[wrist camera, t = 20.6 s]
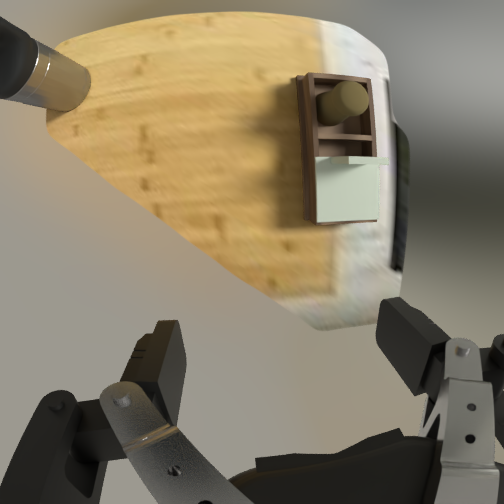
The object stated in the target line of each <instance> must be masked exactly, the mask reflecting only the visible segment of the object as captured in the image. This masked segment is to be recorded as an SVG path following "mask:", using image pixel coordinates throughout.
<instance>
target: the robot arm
mask: <svg viewBox="0 0 504 504" xmlns="http://www.w3.org/2000/svg"><path fill="white" fill-rule="evenodd" d="M90 83H91V78H90V74H89V72H88V70H87V69H86V68H85V67H83V66H81V65H80V64H78V63H76V62H75V61H73V60H71V59H70V58H68V57H66V56H64V55H62V54H61V53H59V52H57V51H55V50H53V49H52V48H50V47H48V46H46V45H44V44H42V43H40V42H38V41H36V40H35V39H33V38H31V37H30V36H29V35H28V34H27V33H26V32H25V31H23V30H21V29H20V28H18V27H16V26H15V25H13V24H11V23H10V22H8V21H7V20H5V19H3V18H2V17H0V99H5V100H10V101H16V102H22V103H23V104H28V105H33V106H38V107H42V108H47V109H53V110H58V111H62V112H66V111H70V110H72V109H74V108H76V107H77V106H78V105H80V103H81V102H82V101H83V100H84V99H85V97H86V95H87V93H88V91H89V88H90ZM376 341H377V344H378V346H379V348H380V349H381V350H382V352H383V353H384V355H385V356H386V357H387V359H388V360H389V361H390V363H391V364H392V365H393V367H394V368H395V370H396V371H397V372H398V374H399V375H400V377H401V378H402V379H403V381H404V382H405V384H406V385H407V386H408V388H409V389H410V391H411V392H412V393H413V395H414V396H417V395H420V394H423V393H427V394H428V395H427V398H426V400H425V404H424V410H423V416H422V420H421V425H420V430H419V434H418V436H403V434H402V432H401V430H400V428H397V429H394V430H391V431H388V432H385V433H381V434H378V435H375V436H372V437H368V438H367V439H364V440H362V441H360V442H359V443H357V444H355V445H353V446H351V447H349V448H347V449H345V450H342V451H340V452H338V453H335V454H296V453H293V454H286V455H278V456H270V457H260V458H255V461H256V468H253V469H250V470H247V471H244V472H242V473H239V474H237V475H236V476H233V477H232V478H230V479H228V480H227V479H226V478H225V477H224V476H223V475H222V474H221V473H220V472H219V471H218V470H217V469H216V468H215V467H214V466H213V465H212V464H211V463H210V462H209V461H208V460H207V459H206V458H205V457H204V456H203V455H202V454H201V453H200V452H199V451H198V450H197V449H196V448H195V447H194V445H193V444H192V443H191V442H190V441H189V440H188V439H187V438H186V436H185V435H184V434H183V433H182V432H181V431H180V430H179V429H178V428H177V420H178V414H179V407H180V402H181V396H182V389H183V384H184V378H185V373H186V353H185V349H184V344H183V339H182V334H181V329H180V325H179V322H178V320H163V321H158V322H157V324H156V327H155V329H154V332H153V333H152V334H145V335H144V336H143V337H142V338H141V339H139V340H138V341H137V344H136V346H135V348H134V351H133V353H132V355H131V359H129V361H128V363H127V366H126V368H125V371H124V373H123V375H122V377H121V379H120V382H117V383H114V384H112V385H110V386H108V387H107V388H105V389H104V390H103V392H102V393H101V395H100V398H99V399H96V400H89V401H82V402H77V400H76V399H75V397H74V395H73V394H72V393H70V392H68V391H65V390H57V391H54V392H51V393H49V394H47V395H46V396H44V397H43V398H42V400H41V401H40V403H39V405H38V407H37V408H36V410H35V412H34V414H33V416H32V418H31V420H30V422H29V424H28V426H27V428H26V430H25V432H24V433H23V436H22V438H21V440H20V442H19V444H18V446H17V448H16V450H15V452H14V455H13V457H12V459H11V461H10V464H9V466H8V468H7V471H6V473H5V476H4V478H3V481H2V483H1V486H0V504H99V502H100V496H101V491H102V486H103V481H104V477H105V472H106V468H107V463H108V461H110V460H118V459H124V458H128V459H129V461H130V462H131V464H132V465H133V467H134V469H135V470H136V472H137V474H138V475H139V477H140V478H141V480H142V481H143V483H144V484H145V486H146V487H147V489H148V490H149V491H150V493H151V494H152V496H153V497H154V498H155V500H156V501H157V502H158V504H504V464H501V463H497V462H495V461H494V453H495V436H496V438H497V439H498V441H499V442H500V444H501V445H502V447H503V448H504V391H503V389H504V334H502V335H501V334H500V335H497V336H496V337H495V338H494V340H493V343H492V346H491V347H490V348H480V349H479V348H478V346H477V345H476V344H475V343H474V342H472V341H471V340H468V339H465V338H453V339H451V338H450V337H449V336H448V335H447V334H446V333H445V332H444V331H443V330H442V329H441V328H439V327H438V326H437V325H436V324H434V322H433V321H432V320H431V319H428V317H427V316H426V315H425V314H424V313H422V311H420V310H418V309H416V308H413V307H411V306H410V305H408V304H407V303H406V302H405V301H404V300H403V299H402V298H400V297H395V298H389V299H383V300H382V301H381V303H380V308H379V315H378V322H377V328H376Z"/></svg>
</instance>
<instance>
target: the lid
mask: <svg viewBox="0 0 504 504" xmlns="http://www.w3.org/2000/svg"><path fill="white" fill-rule="evenodd" d="M379 165H389V158H383V157H360V156H339V157H315V181H316V222H335V221H354V220H375V219H379V203H380V171H379Z"/></svg>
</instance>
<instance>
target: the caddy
mask: <svg viewBox="0 0 504 504" xmlns="http://www.w3.org/2000/svg"><path fill="white" fill-rule="evenodd" d="M343 81H355V82H357V83H359V84H361V85H362V86H363V87H364V88H365V90H366V92H367V93H368V97H369V105H368V107H367V109H366V110H365V111H364V112H363V113H362V114H360V115H358V116H349V117H348V118H346V119H345V120H344V121H343V122H341V123H340V124H338V125H336V126H326V125H323V124H321V123H320V122H319V121H318V120H317V111H316V99H315V97H316V96H317V95H318V94H321V93H323V92H327V91H330V90H334V87H335V86H336V85H337V84H339V83H340V82H343ZM296 82H297V94H298V107H299V121H300V136H301V154H302V176H303V205H304V220H310V221H311V222H312V223H314V224H315V225H328V224H345V223H364V222H377V219H375V220H354V221H335V222H316V181H315V157H339V156H360V157H377V149H376V130H375V116H374V105H373V95H372V86H371V79H369V78H362V77H354V76H345V75H335V74H323V73H307V74H306V75H305V76H299V75H297V76H296Z"/></svg>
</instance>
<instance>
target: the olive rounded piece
mask: <svg viewBox="0 0 504 504" xmlns="http://www.w3.org/2000/svg"><path fill="white" fill-rule="evenodd" d="M315 99H316V111H317V120H318V121H319V122H320V123H321V124H323V125H326V126H336V125H338V124H340V123H341V122H343V121H344V120H345V119H346V118H348V117H349V116H358V115H360V114H362V113H363V112H364V111H365V110H366V109H367V107H368V105H369V97H368V93H367V92H366V90H365V88H364V87H363V86H362V85H361V84H359V83H357V82H355V81H343V82H340V83H339V84H337V85H336V86H335V87H334V90H330V91H327V92H323V93H321V94H318V95H317V96H316V97H315Z"/></svg>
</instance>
